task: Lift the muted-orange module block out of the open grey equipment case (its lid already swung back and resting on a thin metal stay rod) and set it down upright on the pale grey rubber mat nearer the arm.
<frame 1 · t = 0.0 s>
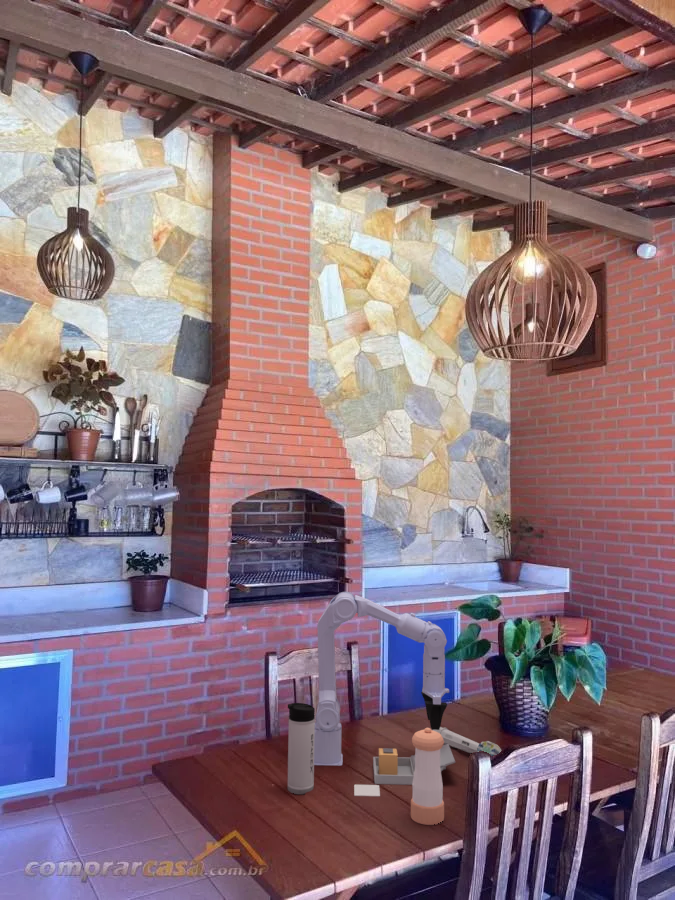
hand: (433, 724, 185), 10 cm above the table, tool pointing down, fingers open, 7 cm apart
travel mug: (299, 790, 167), on the table
case: (393, 776, 175), on the table
pepper shaker: (427, 818, 153), on the table
module: (387, 774, 176), resting on case
white elongated piece: (459, 739, 190), point 4 cm above the table
mat: (366, 792, 166), on the table
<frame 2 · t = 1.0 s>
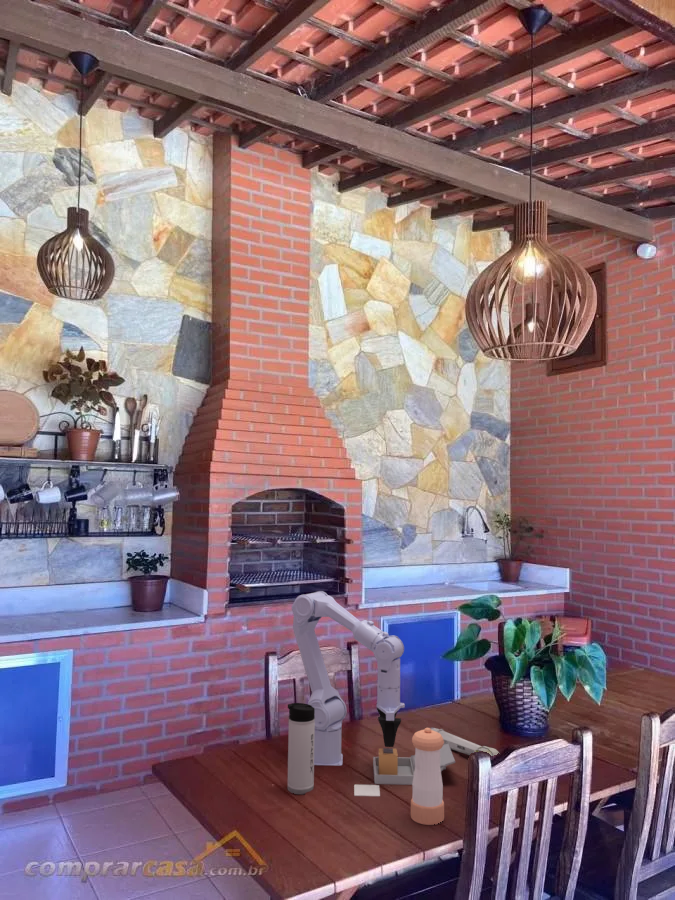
hand: (388, 741, 176), 9 cm above the table, tool pointing down, fingers open, 7 cm apart
white elongated piece: (453, 748, 189), point 2 cm above the table
everything else where it was.
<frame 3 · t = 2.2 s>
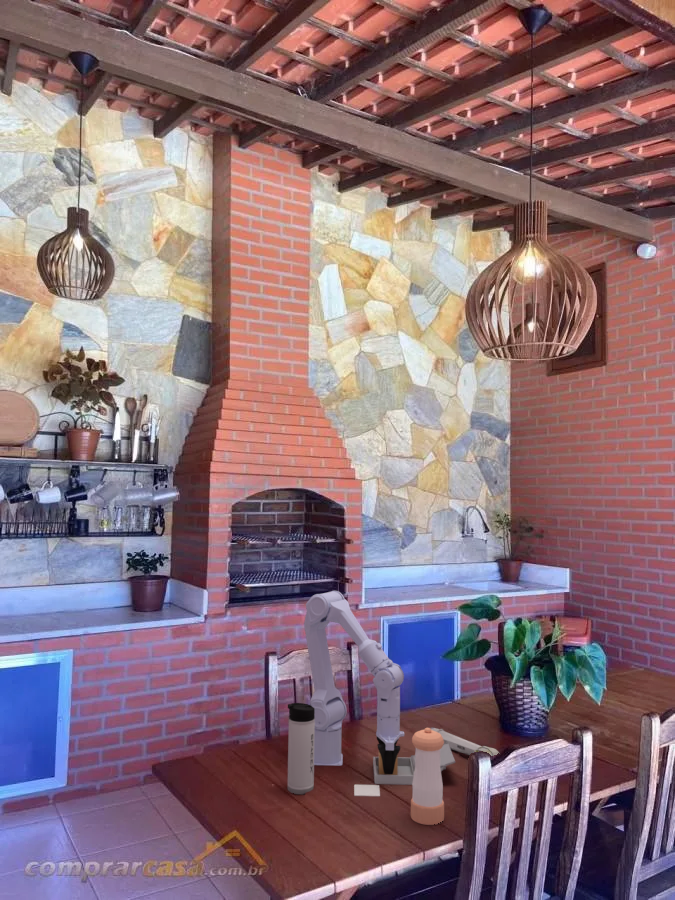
hand: (387, 769, 176), 2 cm above the table, tool pointing down, fingers closed on module, 4 cm apart
module: (387, 774, 176), resting on case, touching gripper
everything else where it was.
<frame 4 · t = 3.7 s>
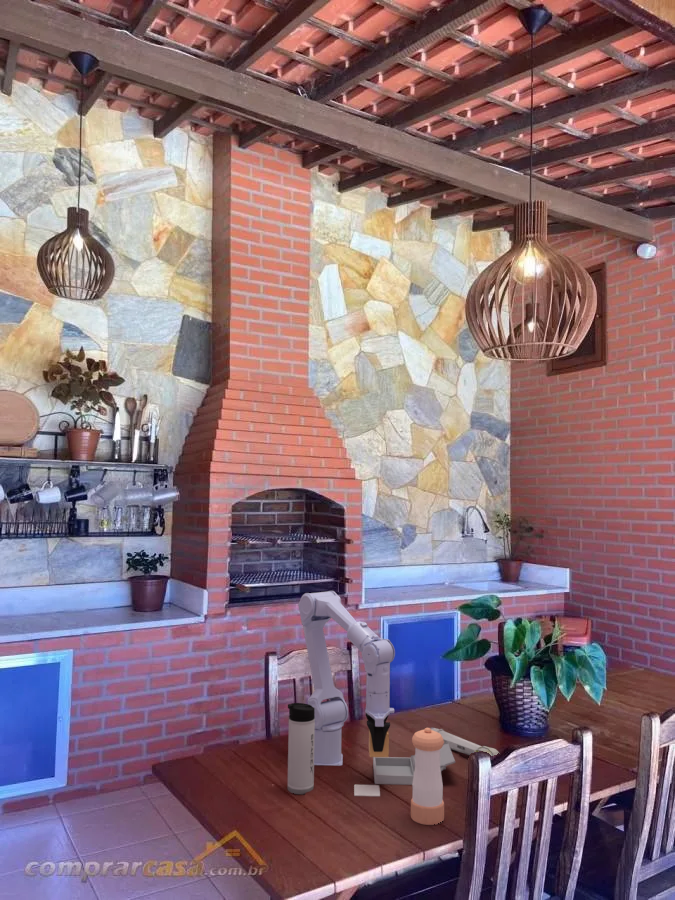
hand: (377, 747, 171), 9 cm above the table, tool pointing down, fingers closed on module, 5 cm apart
module: (378, 753, 171), point 7 cm above the table, touching gripper
everything else where it was.
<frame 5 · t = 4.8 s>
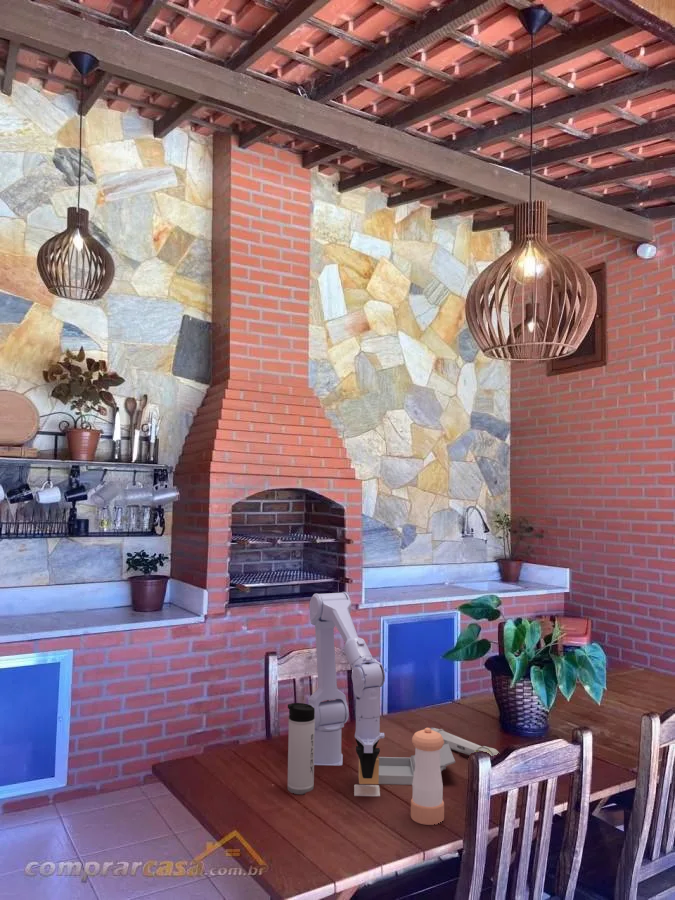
hand: (367, 773, 166), 4 cm above the table, tool pointing down, fingers closed on module, 5 cm apart
module: (368, 779, 166), point 3 cm above the table, touching gripper
everything else where it was.
when the fingers open (3 cm above the table, at t = 5.6 s): module stays where it is, resting on mat.
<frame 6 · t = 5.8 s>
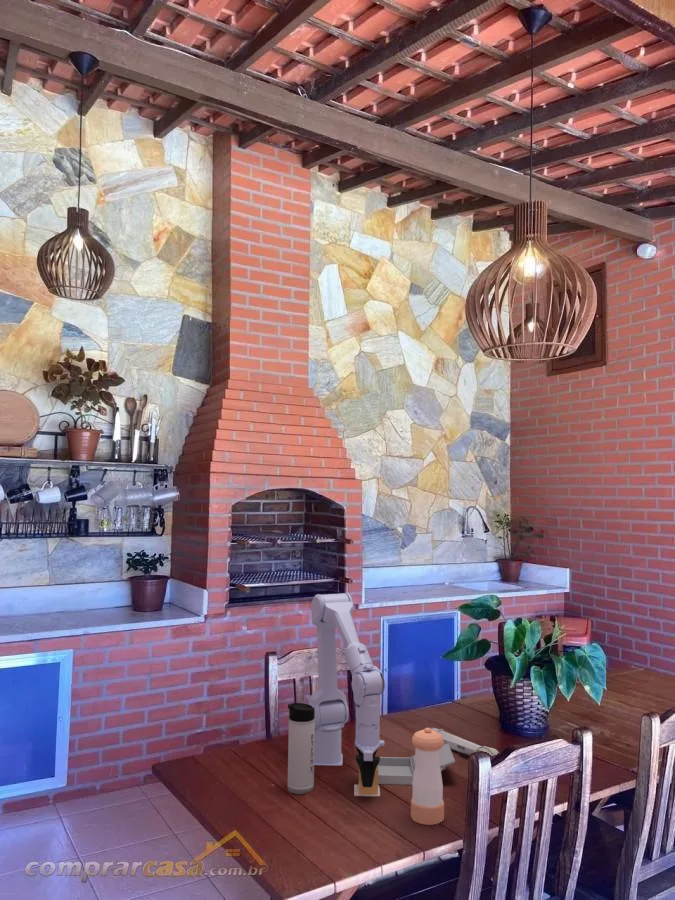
hand: (367, 780, 166), 3 cm above the table, tool pointing down, fingers open, 6 cm apart
module: (368, 790, 166), point 1 cm above the table, touching mat
everything else where it was.
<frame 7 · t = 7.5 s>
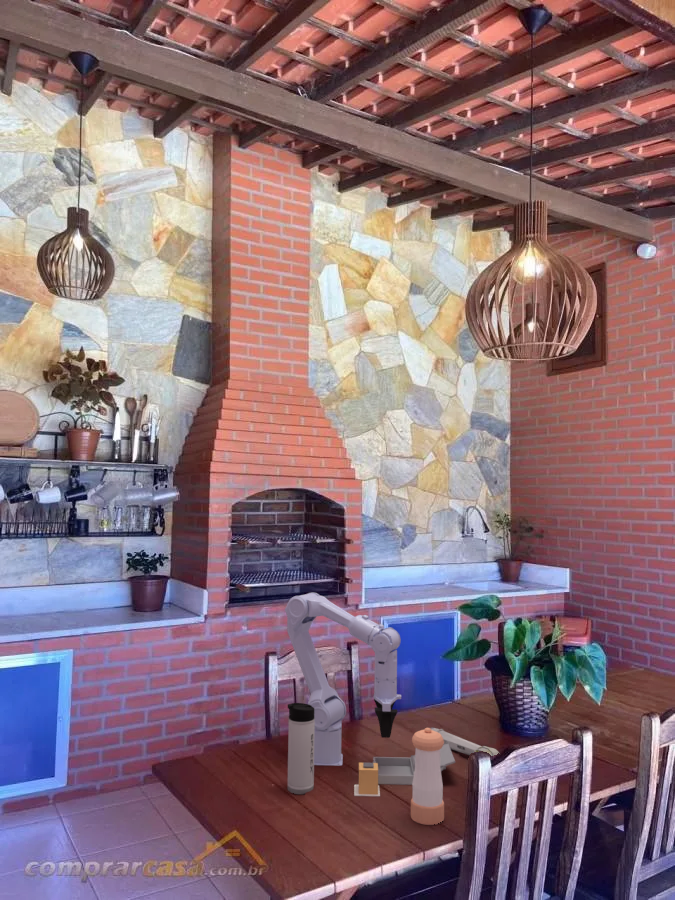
hand: (385, 731, 178), 10 cm above the table, tool pointing down, fingers open, 7 cm apart
nothing on the table moved.
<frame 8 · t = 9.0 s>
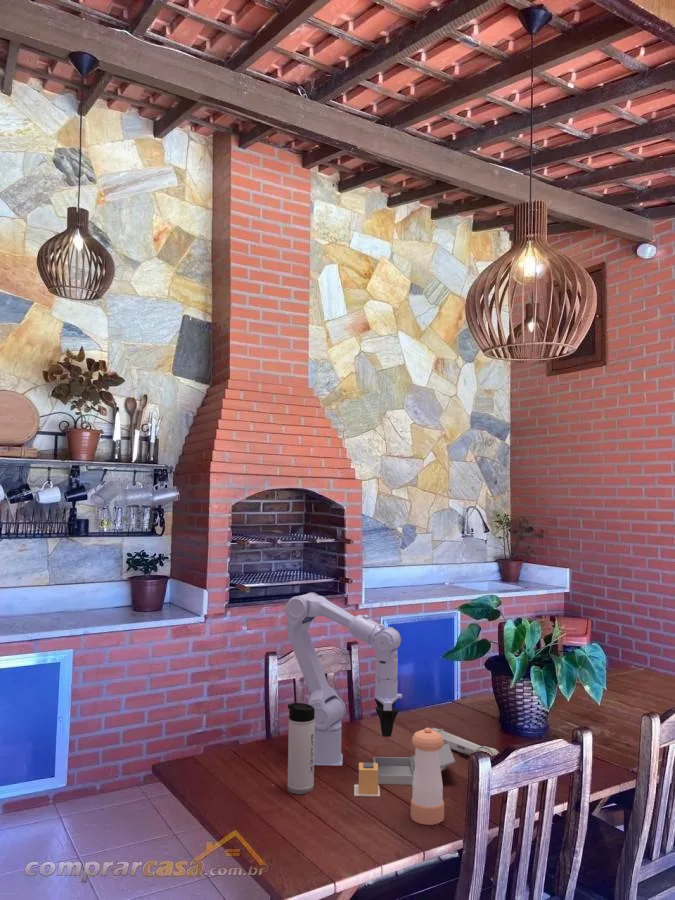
hand: (385, 731, 178), 10 cm above the table, tool pointing down, fingers open, 7 cm apart
nothing on the table moved.
at the end: module inside the target area on the mat (0.3 cm from its centre), point 0.6 cm above the mat's base; module tilted 0°; the gripper is holding nothing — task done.
